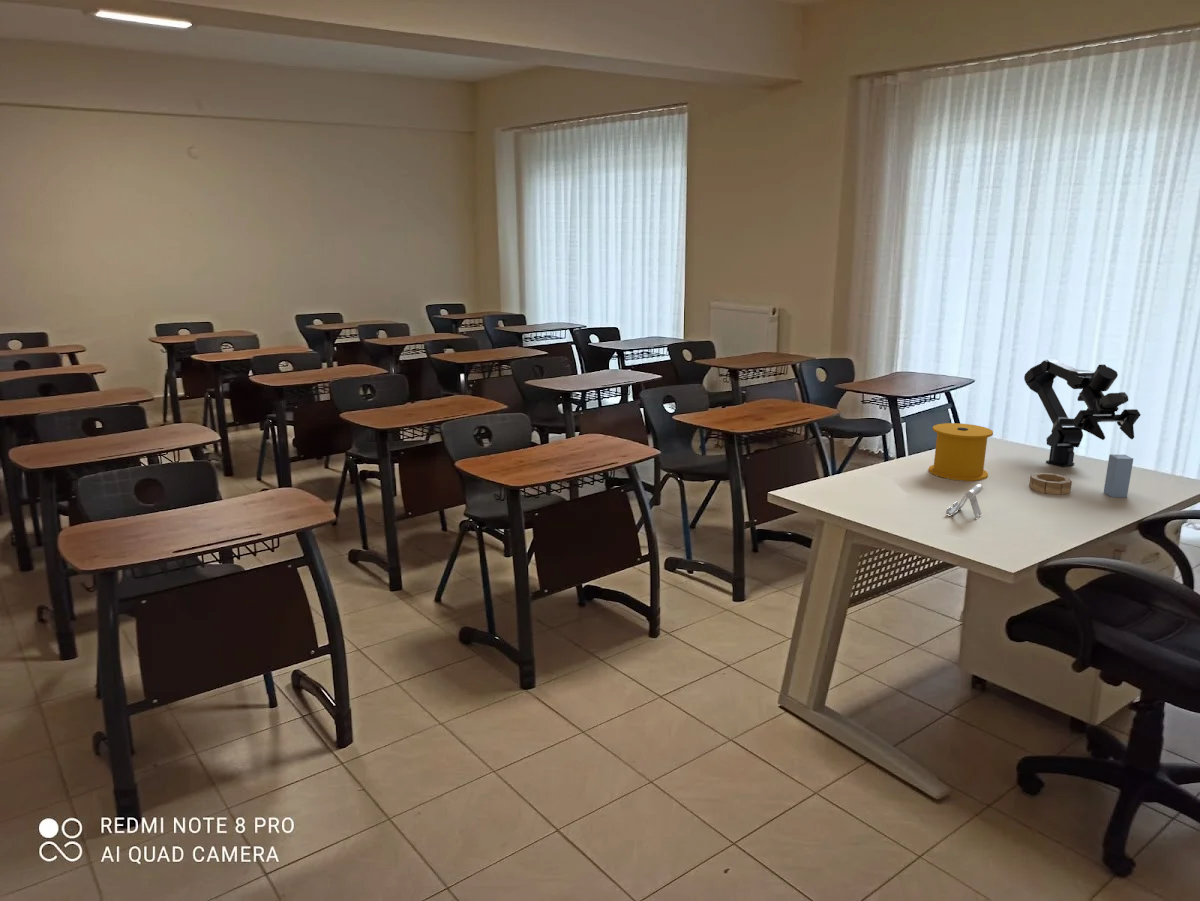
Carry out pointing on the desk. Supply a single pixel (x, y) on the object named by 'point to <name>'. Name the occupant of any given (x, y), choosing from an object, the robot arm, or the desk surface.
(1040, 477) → the octagonal cardboard ring
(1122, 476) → the light blue block
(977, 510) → the portable electronic device stand
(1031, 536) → the desk surface
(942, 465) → the spool
